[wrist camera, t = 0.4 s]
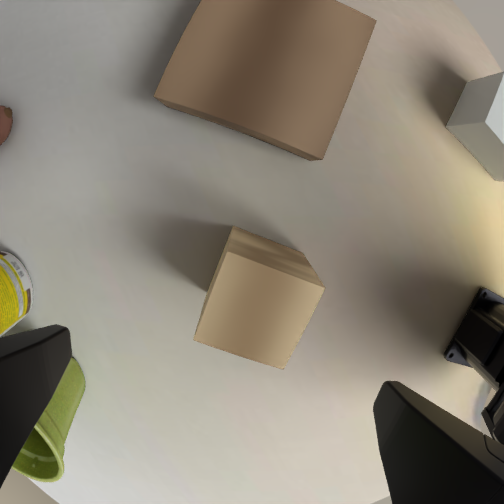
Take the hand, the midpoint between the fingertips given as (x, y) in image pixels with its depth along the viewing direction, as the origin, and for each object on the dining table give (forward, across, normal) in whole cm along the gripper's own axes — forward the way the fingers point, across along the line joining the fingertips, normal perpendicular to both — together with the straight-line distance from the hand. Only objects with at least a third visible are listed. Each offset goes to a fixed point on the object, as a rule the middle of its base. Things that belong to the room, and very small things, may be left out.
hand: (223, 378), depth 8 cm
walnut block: (+12, 0, -12) cm, 17 cm away
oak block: (+12, -1, +1) cm, 12 cm away
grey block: (+10, -13, -13) cm, 21 cm away
